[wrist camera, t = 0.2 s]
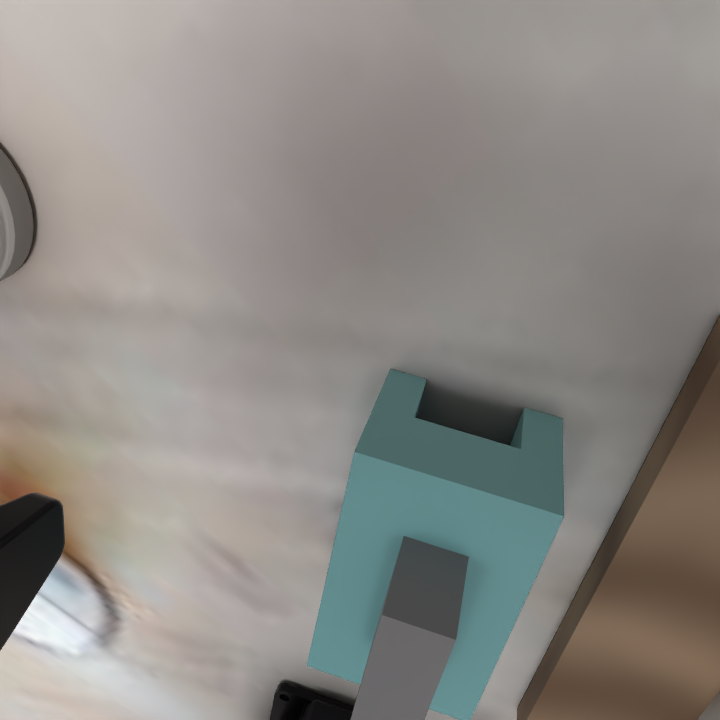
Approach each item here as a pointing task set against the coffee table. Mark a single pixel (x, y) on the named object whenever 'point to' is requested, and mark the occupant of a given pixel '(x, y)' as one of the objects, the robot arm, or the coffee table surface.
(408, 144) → the coffee table surface
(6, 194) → the travel mug
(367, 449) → the grooved box
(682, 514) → the cleat board
